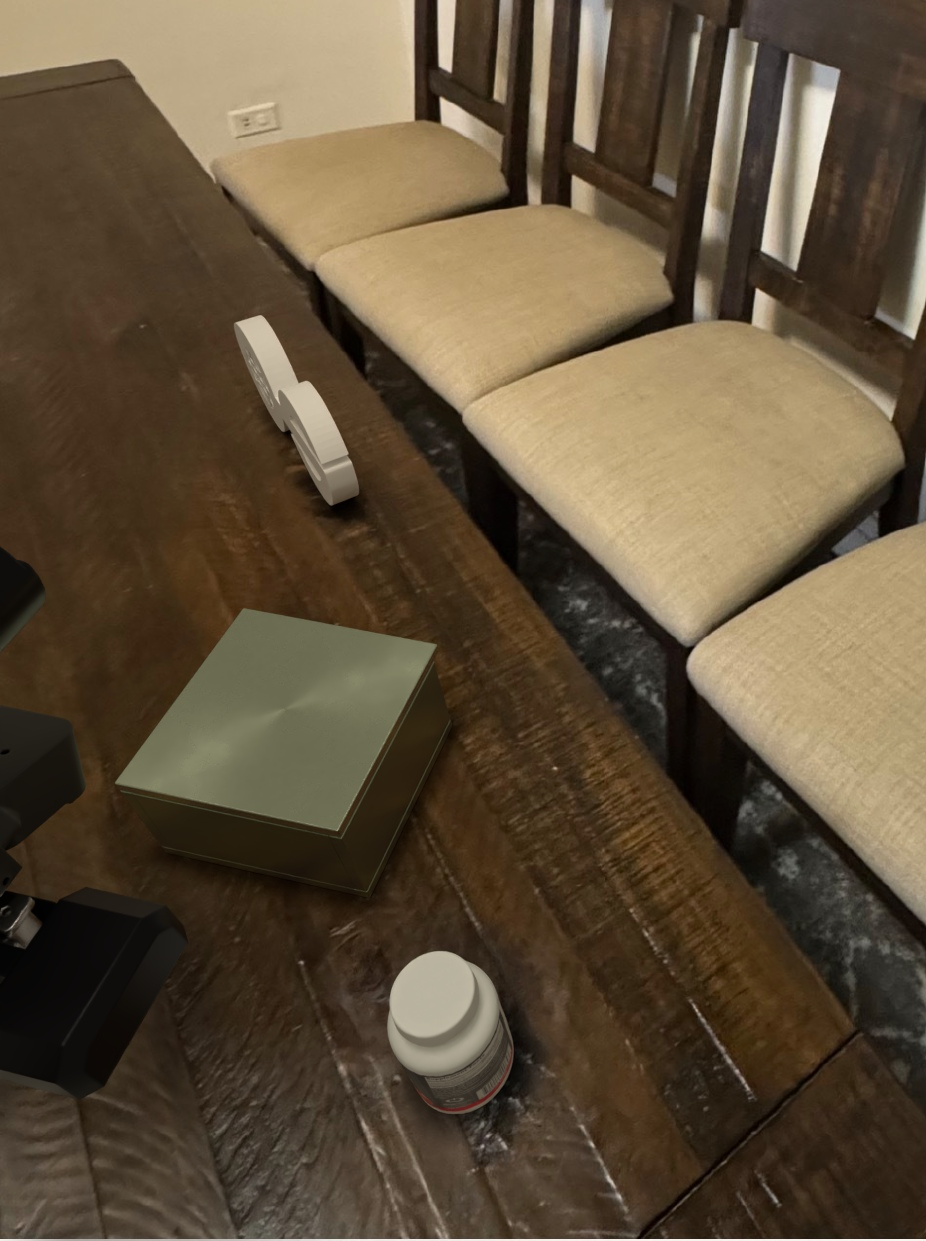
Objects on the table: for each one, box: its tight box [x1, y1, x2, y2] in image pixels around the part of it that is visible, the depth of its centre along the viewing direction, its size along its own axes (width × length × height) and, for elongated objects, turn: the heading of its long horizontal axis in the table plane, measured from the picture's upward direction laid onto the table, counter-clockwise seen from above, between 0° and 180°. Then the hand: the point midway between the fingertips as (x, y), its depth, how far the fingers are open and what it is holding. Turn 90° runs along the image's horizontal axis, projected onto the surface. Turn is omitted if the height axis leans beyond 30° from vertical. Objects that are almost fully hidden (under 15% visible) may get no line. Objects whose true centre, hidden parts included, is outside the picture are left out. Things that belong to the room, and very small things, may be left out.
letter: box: [233, 314, 360, 506], centre depth 86 cm, size 22×2×10 cm, turn 36°
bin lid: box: [114, 607, 440, 837], centre depth 61 cm, size 13×14×1 cm
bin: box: [119, 661, 453, 899], centre depth 63 cm, size 13×14×7 cm
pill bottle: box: [386, 950, 515, 1115], centre depth 51 cm, size 5×5×10 cm
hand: (16, 1024), depth 43 cm, fingers closed
